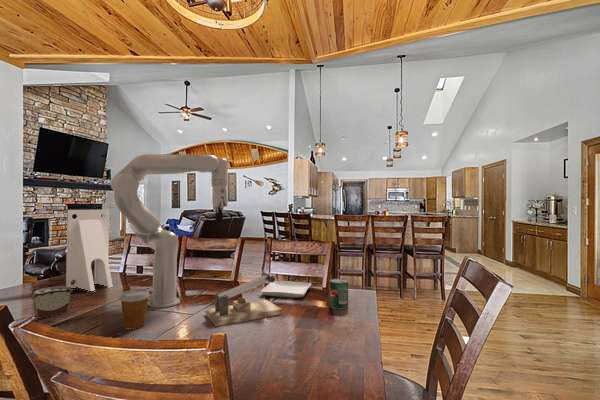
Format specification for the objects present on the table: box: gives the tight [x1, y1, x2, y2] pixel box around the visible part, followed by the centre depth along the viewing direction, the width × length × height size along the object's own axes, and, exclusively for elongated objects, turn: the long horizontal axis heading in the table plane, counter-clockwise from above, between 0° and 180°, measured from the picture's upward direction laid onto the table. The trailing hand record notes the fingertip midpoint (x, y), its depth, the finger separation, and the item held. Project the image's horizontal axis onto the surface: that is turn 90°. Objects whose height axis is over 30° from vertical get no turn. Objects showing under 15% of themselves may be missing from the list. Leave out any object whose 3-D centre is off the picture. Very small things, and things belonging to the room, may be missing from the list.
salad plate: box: [260, 280, 312, 299], centre depth 160 cm, size 21×21×3 cm
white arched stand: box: [65, 209, 114, 292], centre depth 167 cm, size 20×14×40 cm
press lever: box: [218, 272, 276, 300], centre depth 128 cm, size 23×8×2 cm, turn 121°
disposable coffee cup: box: [119, 288, 151, 330], centre depth 114 cm, size 10×10×12 cm
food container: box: [32, 285, 73, 319], centre depth 126 cm, size 12×6×10 cm, turn 134°
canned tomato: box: [329, 278, 349, 310], centre depth 139 cm, size 8×8×11 cm
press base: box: [205, 291, 283, 327], centre depth 127 cm, size 26×14×9 cm, turn 121°
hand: (218, 221), depth 158 cm, fingers closed
